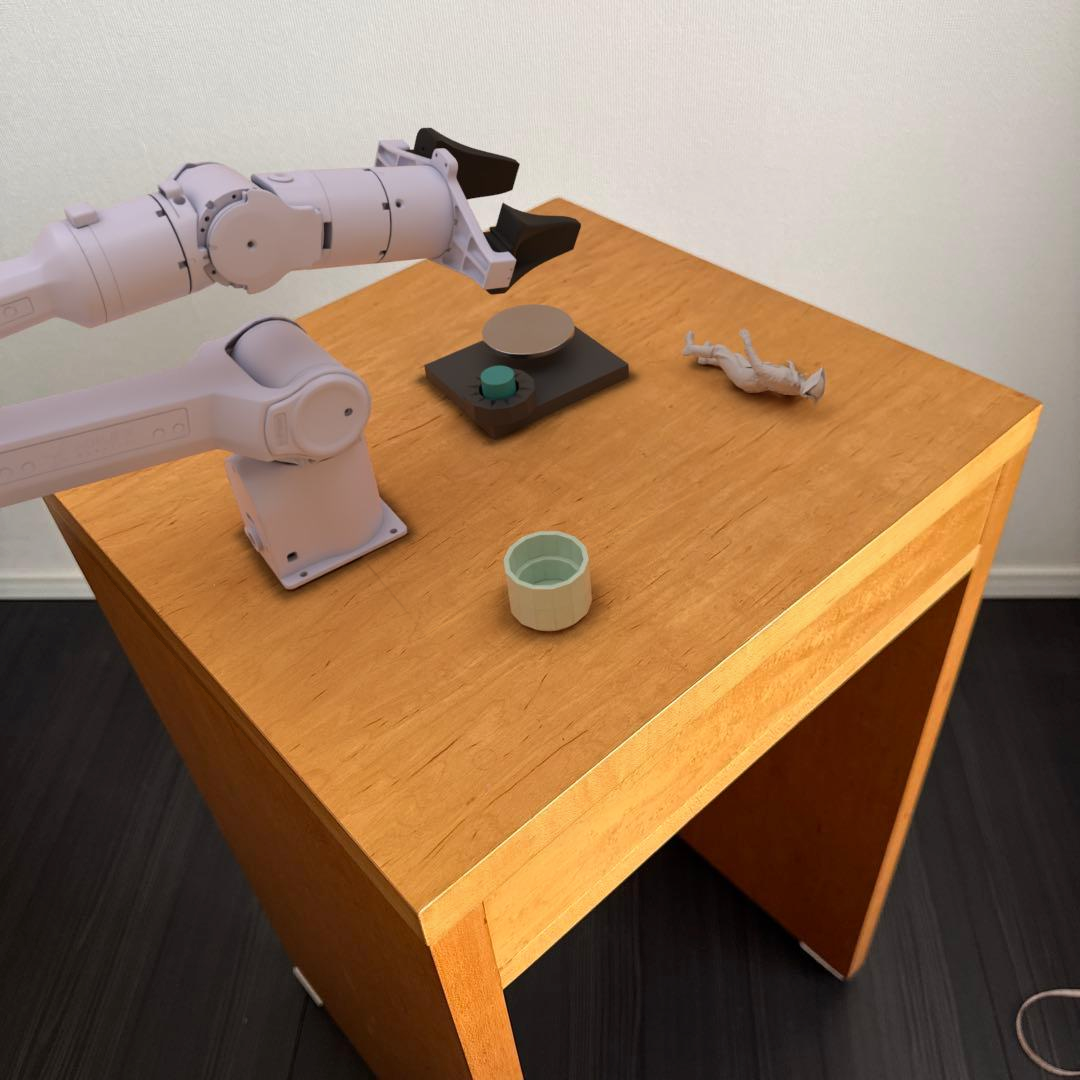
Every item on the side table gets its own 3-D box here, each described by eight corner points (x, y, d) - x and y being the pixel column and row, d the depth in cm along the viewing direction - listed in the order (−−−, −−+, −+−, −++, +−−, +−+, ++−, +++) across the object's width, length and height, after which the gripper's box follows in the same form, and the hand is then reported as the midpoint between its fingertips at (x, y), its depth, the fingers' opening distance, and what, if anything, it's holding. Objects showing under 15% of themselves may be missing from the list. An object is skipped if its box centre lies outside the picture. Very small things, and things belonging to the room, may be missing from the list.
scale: (491, 449, 86) (487, 417, 84) (418, 382, 94) (412, 351, 92) (634, 382, 91) (633, 350, 89) (554, 323, 99) (551, 293, 97)
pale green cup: (540, 648, 71) (534, 602, 68) (495, 600, 74) (487, 554, 71) (608, 611, 73) (605, 564, 70) (561, 565, 76) (556, 519, 73)
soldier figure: (727, 353, 95) (856, 355, 87) (715, 409, 95) (843, 416, 86) (674, 322, 89) (806, 321, 81) (661, 381, 89) (792, 386, 81)
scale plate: (514, 370, 89) (513, 365, 88) (465, 331, 94) (464, 326, 93) (592, 335, 91) (592, 330, 91) (541, 299, 96) (540, 294, 96)
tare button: (494, 405, 86) (491, 388, 85) (476, 390, 88) (474, 373, 87) (522, 392, 87) (520, 375, 86) (504, 378, 89) (502, 361, 88)
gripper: (440, 223, 63) (623, 209, 71) (325, 96, 70) (502, 96, 78) (415, 326, 68) (589, 302, 75) (309, 197, 75) (478, 188, 82)
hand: (543, 204), depth 77 cm, fingers open, 7 cm apart
